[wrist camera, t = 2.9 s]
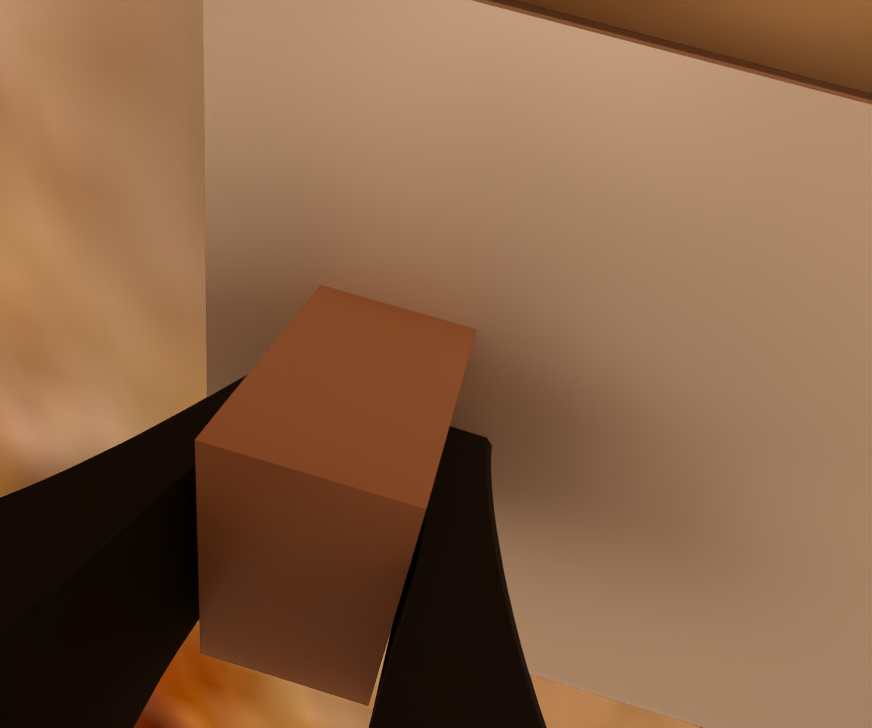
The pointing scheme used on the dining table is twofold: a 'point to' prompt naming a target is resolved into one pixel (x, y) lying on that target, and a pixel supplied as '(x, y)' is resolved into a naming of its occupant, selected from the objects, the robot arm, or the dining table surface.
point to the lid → (538, 351)
